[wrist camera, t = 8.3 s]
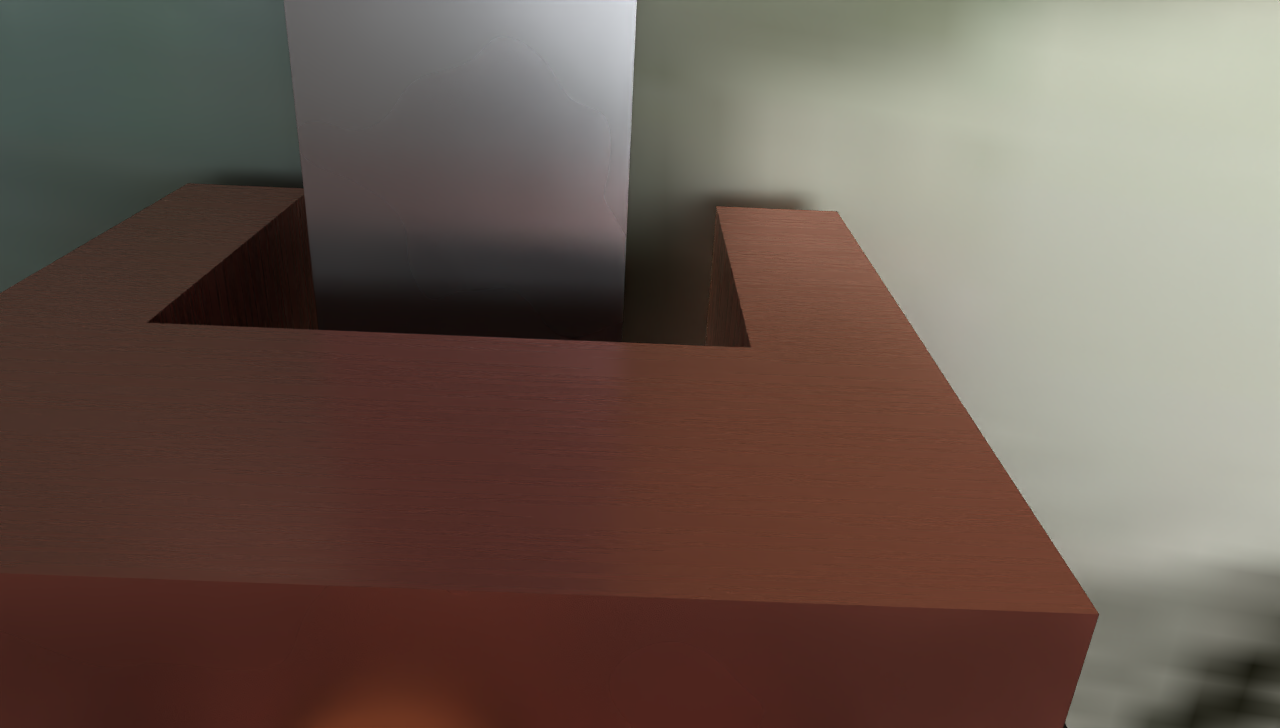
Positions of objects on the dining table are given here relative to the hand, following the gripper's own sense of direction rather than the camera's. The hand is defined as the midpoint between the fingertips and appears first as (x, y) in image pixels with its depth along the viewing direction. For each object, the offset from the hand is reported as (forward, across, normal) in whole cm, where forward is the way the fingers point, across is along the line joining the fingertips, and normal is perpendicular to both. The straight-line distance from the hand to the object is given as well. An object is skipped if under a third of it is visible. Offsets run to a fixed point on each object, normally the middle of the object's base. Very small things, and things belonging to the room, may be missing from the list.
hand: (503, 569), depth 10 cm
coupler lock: (+1, 0, 0) cm, 1 cm away
